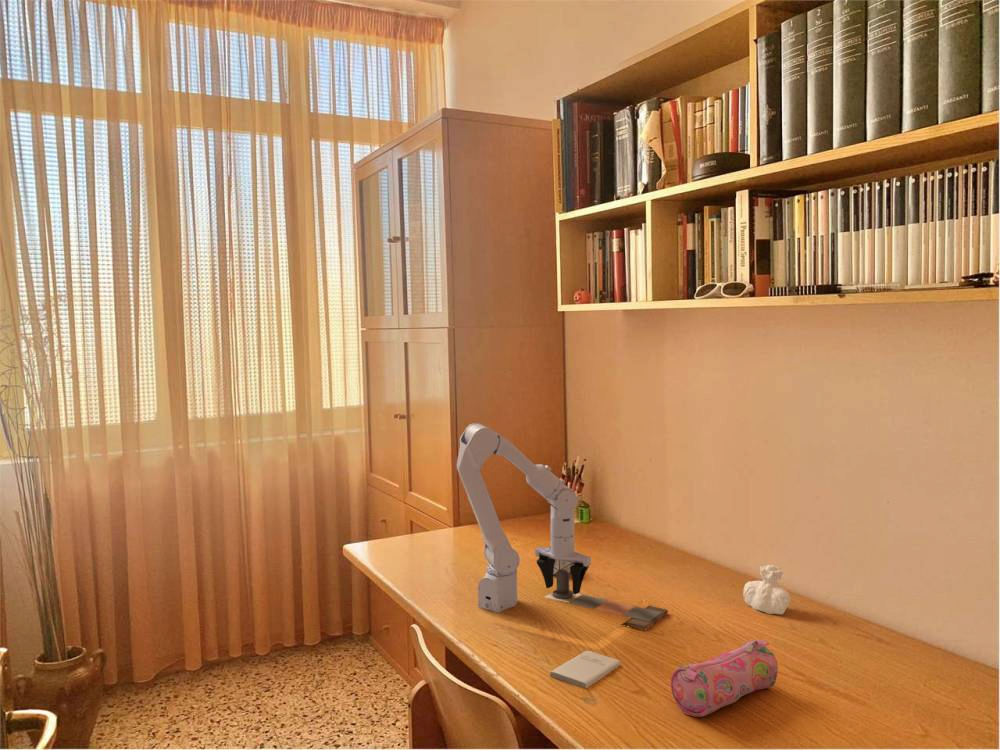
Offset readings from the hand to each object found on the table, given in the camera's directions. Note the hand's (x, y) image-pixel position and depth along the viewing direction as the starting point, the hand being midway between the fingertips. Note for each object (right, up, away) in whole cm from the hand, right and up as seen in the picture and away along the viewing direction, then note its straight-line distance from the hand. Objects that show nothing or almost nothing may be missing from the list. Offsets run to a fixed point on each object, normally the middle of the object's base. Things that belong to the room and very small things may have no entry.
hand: (562, 589), depth 192 cm
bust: (+47, -3, -7) cm, 48 cm away
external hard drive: (+1, -6, -38) cm, 38 cm away
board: (+9, -3, -6) cm, 11 cm away
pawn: (0, -1, 0) cm, 1 cm away
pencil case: (+25, -6, -50) cm, 57 cm away
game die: (+1, -2, +17) cm, 17 cm away
